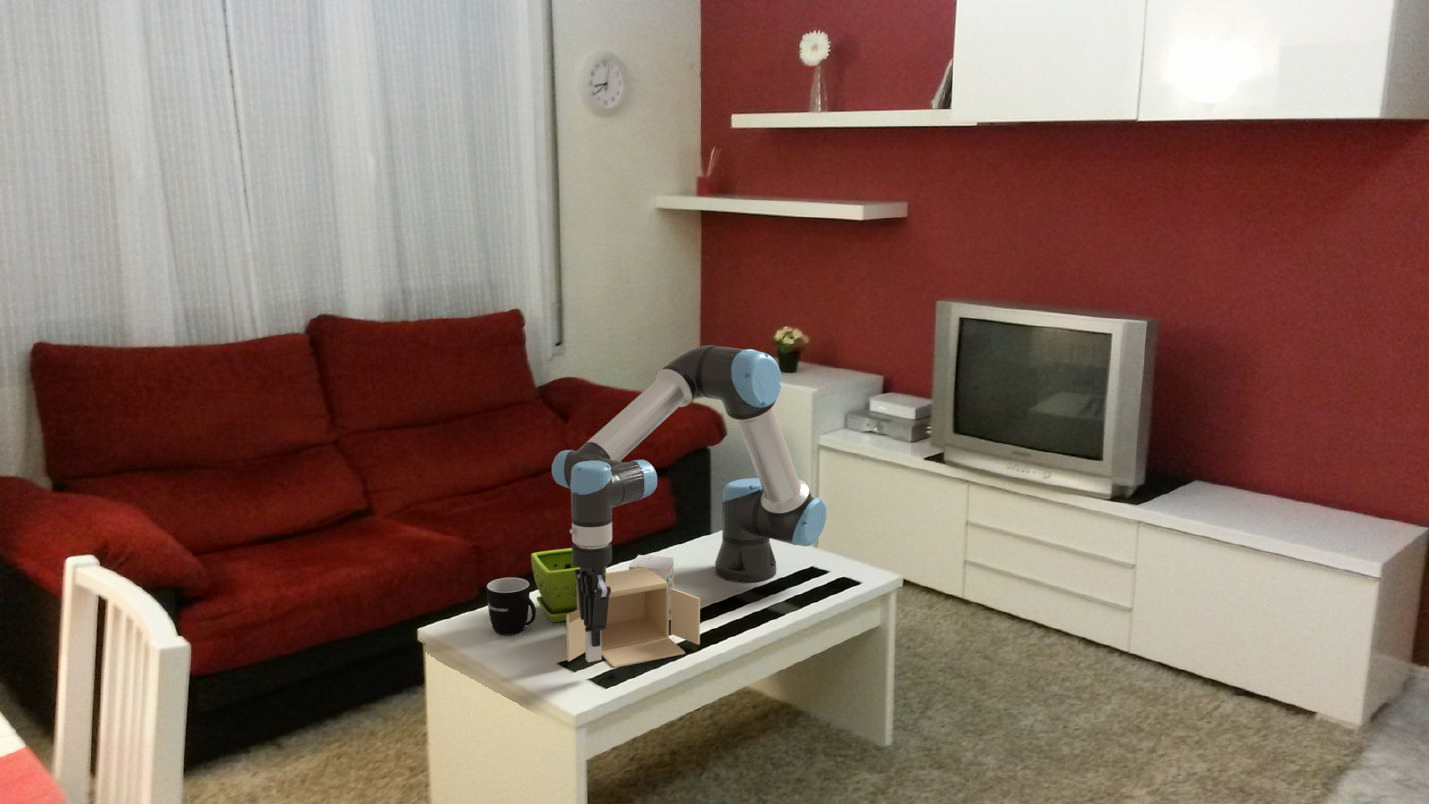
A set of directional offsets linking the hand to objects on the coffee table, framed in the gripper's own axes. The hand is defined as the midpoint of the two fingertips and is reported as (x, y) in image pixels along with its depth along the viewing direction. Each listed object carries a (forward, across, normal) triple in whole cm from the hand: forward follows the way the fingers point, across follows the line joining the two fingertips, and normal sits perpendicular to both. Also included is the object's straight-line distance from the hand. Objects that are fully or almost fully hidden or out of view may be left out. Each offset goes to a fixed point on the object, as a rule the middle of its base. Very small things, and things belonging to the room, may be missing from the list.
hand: (593, 659), depth 218 cm
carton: (+4, -13, +15) cm, 20 cm away
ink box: (+4, -27, +24) cm, 36 cm away
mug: (+4, -29, -7) cm, 30 cm away
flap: (+2, -9, 0) cm, 9 cm away
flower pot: (+4, -34, +7) cm, 35 cm away
